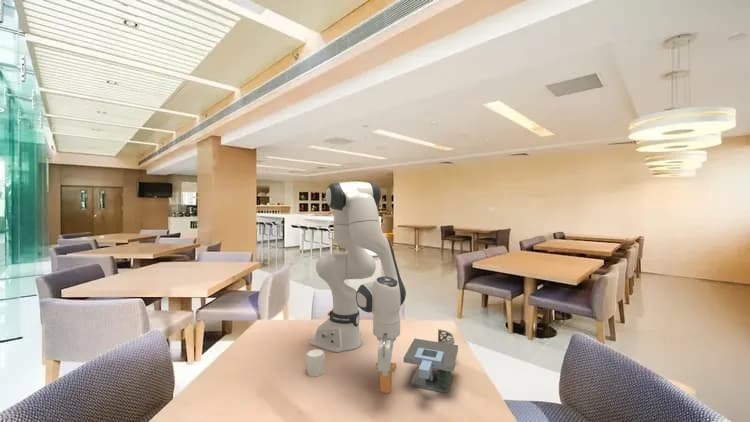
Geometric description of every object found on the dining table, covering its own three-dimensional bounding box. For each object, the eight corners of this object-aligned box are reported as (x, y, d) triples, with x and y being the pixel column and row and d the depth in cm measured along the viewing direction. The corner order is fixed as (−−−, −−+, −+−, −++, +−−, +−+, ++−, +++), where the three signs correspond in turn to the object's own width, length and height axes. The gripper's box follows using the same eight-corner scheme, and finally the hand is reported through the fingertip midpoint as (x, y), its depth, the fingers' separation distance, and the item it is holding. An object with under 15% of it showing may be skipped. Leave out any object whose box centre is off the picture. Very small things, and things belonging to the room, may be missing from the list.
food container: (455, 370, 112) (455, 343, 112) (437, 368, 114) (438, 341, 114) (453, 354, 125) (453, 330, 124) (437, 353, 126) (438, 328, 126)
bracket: (409, 375, 93) (409, 365, 93) (418, 356, 105) (418, 347, 105) (437, 381, 90) (437, 370, 90) (443, 360, 102) (443, 351, 102)
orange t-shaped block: (375, 390, 100) (376, 364, 100) (378, 385, 103) (379, 360, 102) (393, 394, 98) (393, 367, 98) (396, 389, 101) (396, 363, 100)
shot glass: (328, 369, 112) (328, 350, 112) (319, 379, 106) (319, 358, 106) (311, 365, 115) (312, 347, 115) (301, 375, 108) (301, 355, 108)
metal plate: (403, 387, 101) (403, 357, 101) (414, 364, 116) (414, 338, 116) (453, 398, 96) (453, 366, 96) (457, 372, 111) (458, 345, 111)
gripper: (394, 342, 89) (394, 390, 89) (397, 317, 109) (397, 356, 110) (373, 341, 90) (372, 388, 90) (380, 316, 110) (379, 355, 110)
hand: (386, 370), depth 100 cm, fingers closed on orange t-shaped block, 3 cm apart
